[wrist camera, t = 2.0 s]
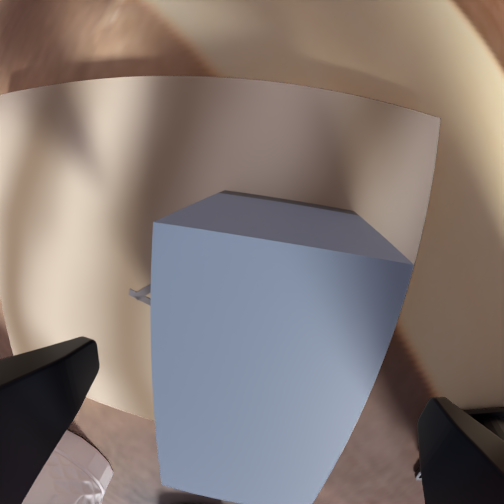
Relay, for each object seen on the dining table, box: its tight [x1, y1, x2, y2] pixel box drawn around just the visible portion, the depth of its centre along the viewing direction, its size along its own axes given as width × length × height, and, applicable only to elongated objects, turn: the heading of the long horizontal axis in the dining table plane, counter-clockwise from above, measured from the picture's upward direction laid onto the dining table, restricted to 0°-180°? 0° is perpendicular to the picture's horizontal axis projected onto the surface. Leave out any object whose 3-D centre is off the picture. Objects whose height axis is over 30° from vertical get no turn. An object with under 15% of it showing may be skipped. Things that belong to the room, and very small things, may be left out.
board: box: [0, 76, 441, 453], centre depth 13 cm, size 20×16×2 cm
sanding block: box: [150, 190, 414, 504], centre depth 9 cm, size 4×8×6 cm, turn 173°
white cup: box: [22, 430, 113, 504], centre depth 15 cm, size 8×8×10 cm
